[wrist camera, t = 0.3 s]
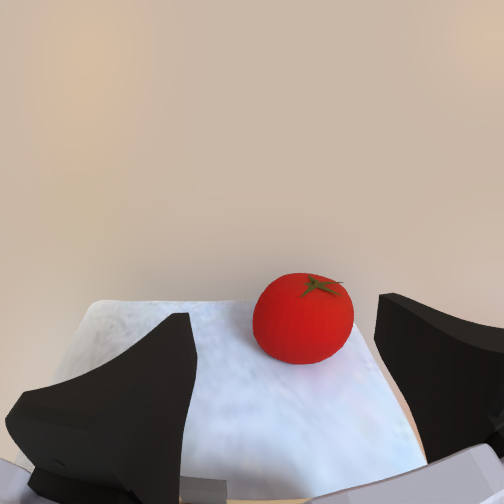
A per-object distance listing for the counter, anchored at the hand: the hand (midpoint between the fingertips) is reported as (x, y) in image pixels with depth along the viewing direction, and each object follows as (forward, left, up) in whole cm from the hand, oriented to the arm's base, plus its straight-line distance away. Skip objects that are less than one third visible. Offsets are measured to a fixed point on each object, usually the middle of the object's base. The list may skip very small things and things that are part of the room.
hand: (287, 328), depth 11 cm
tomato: (+24, -6, -21) cm, 33 cm away
